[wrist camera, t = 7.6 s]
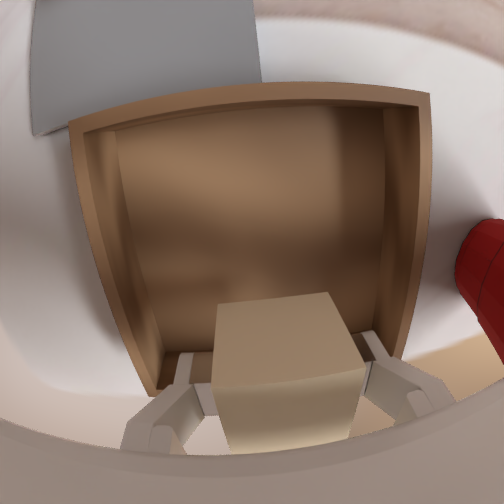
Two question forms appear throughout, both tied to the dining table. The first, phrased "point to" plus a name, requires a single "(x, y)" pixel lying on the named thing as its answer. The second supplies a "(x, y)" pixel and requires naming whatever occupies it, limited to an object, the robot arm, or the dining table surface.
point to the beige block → (284, 373)
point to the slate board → (134, 53)
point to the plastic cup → (484, 278)
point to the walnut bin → (255, 208)
